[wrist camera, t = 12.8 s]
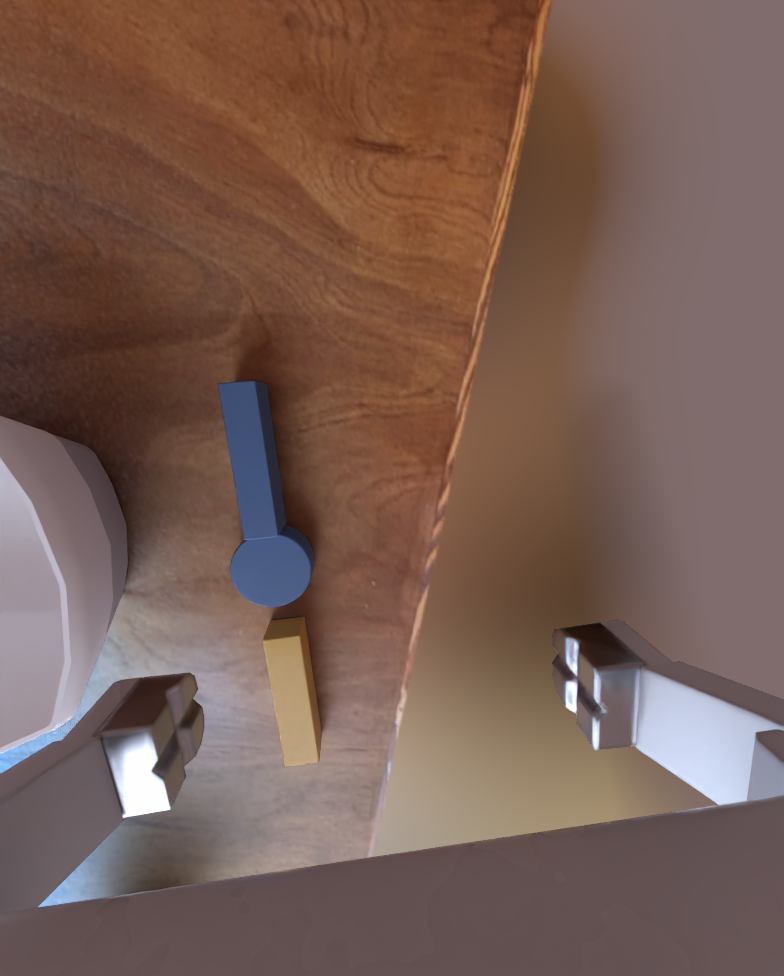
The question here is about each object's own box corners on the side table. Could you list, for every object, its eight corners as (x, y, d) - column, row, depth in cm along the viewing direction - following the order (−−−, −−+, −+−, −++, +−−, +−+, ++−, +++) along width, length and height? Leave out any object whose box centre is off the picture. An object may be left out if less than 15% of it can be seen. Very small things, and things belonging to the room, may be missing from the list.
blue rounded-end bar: (208, 387, 24) (188, 385, 21) (291, 381, 24) (282, 378, 22) (245, 596, 27) (232, 620, 24) (318, 588, 27) (314, 610, 25)
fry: (269, 620, 28) (262, 640, 25) (304, 615, 28) (300, 635, 25) (290, 739, 30) (284, 767, 27) (322, 734, 30) (319, 762, 28)
